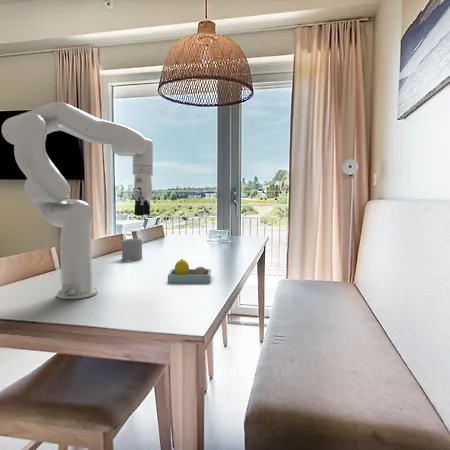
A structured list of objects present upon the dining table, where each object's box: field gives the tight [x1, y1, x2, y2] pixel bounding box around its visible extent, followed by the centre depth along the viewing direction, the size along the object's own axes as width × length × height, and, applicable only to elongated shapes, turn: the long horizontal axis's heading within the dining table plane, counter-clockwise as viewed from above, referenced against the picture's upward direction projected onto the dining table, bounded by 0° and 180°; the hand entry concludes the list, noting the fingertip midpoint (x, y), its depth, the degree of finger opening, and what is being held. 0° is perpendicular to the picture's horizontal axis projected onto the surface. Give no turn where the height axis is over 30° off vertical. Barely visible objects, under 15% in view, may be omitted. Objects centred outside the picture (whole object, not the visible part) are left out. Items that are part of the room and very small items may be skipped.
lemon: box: [174, 258, 190, 275], centre depth 141 cm, size 6×6×8 cm
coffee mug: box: [121, 238, 143, 261], centre depth 191 cm, size 13×10×10 cm
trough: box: [167, 268, 212, 284], centre depth 142 cm, size 11×16×4 cm
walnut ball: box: [194, 266, 207, 275], centre depth 142 cm, size 5×5×5 cm
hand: (142, 215), depth 144 cm, fingers open, 9 cm apart
